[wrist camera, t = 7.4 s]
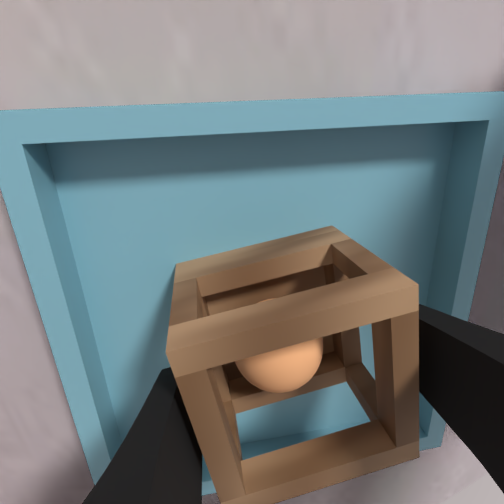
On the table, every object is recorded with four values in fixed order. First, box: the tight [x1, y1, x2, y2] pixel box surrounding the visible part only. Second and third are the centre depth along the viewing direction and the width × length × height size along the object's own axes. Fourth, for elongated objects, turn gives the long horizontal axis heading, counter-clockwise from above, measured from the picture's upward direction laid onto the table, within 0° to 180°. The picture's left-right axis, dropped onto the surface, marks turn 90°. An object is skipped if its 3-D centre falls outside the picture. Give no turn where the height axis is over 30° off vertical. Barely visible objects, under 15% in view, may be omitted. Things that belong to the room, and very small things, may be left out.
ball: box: [235, 298, 323, 393], centre depth 11 cm, size 3×3×3 cm
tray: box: [0, 91, 504, 496], centre depth 13 cm, size 15×15×2 cm
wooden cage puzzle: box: [166, 225, 419, 504], centre depth 11 cm, size 6×6×5 cm
